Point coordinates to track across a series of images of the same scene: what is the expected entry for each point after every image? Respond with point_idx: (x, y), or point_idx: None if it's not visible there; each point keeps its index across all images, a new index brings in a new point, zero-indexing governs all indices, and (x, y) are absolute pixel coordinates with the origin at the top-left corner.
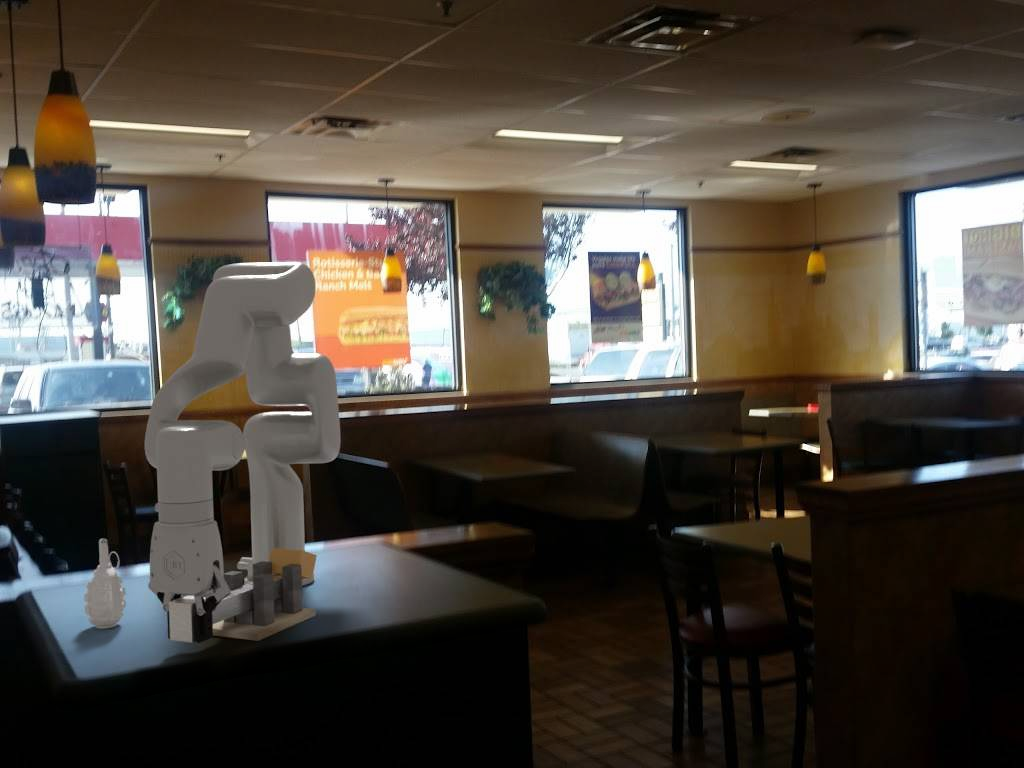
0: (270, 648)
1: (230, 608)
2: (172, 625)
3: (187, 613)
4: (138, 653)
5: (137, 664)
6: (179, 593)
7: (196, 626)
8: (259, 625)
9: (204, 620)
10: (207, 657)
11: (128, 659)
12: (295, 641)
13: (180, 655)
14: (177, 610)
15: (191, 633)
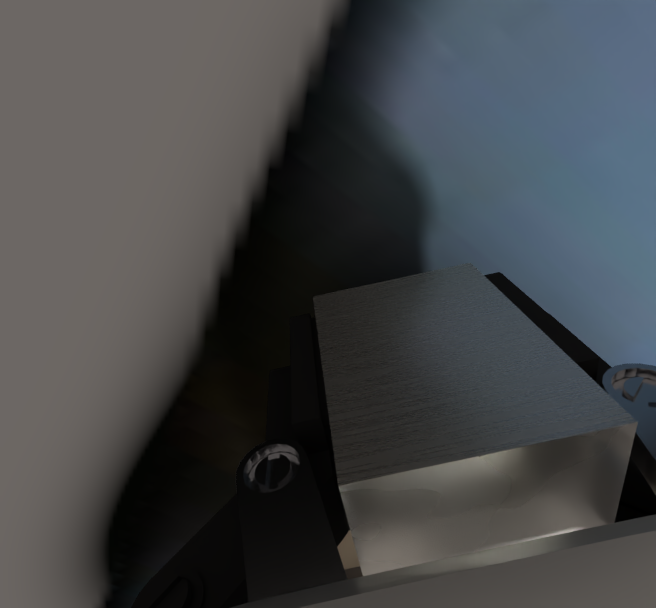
0: (162, 485)
1: None
2: (486, 308)
3: (370, 403)
4: (615, 168)
5: (491, 30)
6: (497, 554)
7: (296, 367)
8: (357, 568)
9: (269, 429)
10: (265, 307)
11: (603, 66)
12: (168, 554)
13: (399, 259)
14: (486, 391)
15: (320, 322)
